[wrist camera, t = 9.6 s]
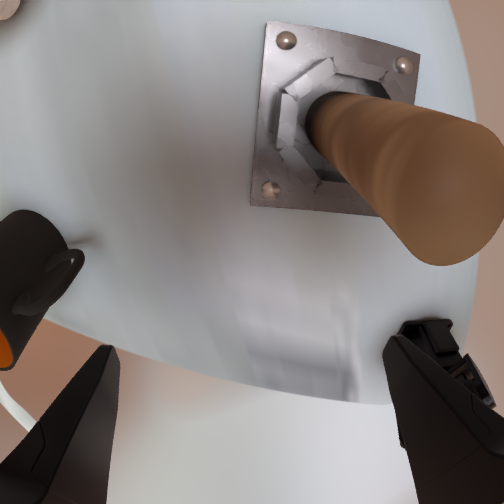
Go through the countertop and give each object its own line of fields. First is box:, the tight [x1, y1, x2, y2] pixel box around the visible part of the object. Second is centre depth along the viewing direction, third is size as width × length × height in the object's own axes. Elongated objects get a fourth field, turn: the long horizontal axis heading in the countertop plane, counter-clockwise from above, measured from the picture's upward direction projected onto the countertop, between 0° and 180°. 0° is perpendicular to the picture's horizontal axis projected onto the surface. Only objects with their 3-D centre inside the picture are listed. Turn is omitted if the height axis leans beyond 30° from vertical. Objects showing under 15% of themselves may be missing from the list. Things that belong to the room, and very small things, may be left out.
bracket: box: [250, 21, 420, 217], centre depth 18 cm, size 12×10×4 cm
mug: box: [0, 210, 85, 371], centre depth 19 cm, size 8×12×10 cm
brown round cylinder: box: [305, 91, 504, 266], centre depth 13 cm, size 4×4×12 cm
